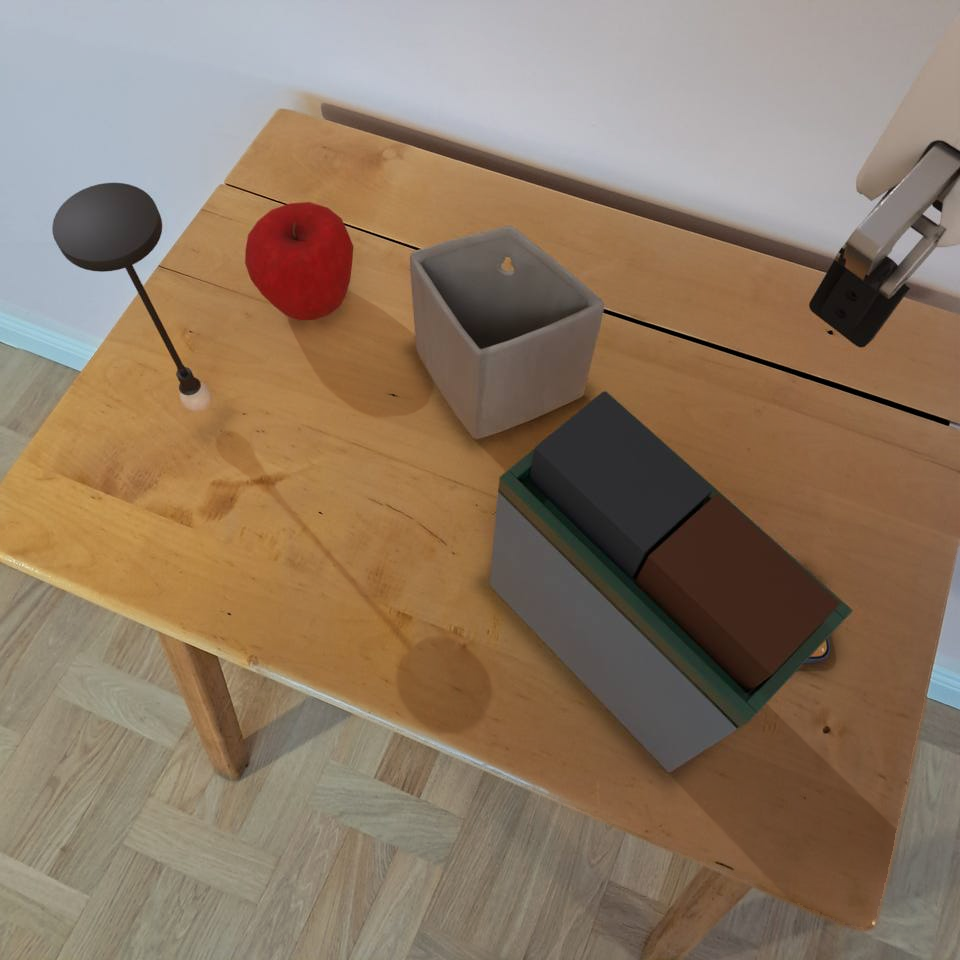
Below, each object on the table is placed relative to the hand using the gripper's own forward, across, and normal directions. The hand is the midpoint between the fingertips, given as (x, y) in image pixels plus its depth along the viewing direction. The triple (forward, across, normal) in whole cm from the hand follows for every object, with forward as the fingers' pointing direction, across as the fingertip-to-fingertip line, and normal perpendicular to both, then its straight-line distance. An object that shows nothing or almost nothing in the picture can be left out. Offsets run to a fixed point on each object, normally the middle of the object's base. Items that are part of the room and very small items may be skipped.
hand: (900, 270), depth 41 cm
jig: (+18, +11, 0) cm, 21 cm away
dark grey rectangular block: (+18, +11, -5) cm, 21 cm away
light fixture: (+36, +24, -39) cm, 59 cm away
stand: (+36, +11, 0) cm, 38 cm away
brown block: (+18, +11, +5) cm, 21 cm away
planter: (+36, +4, -23) cm, 43 cm away
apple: (+36, +9, -43) cm, 57 cm away
